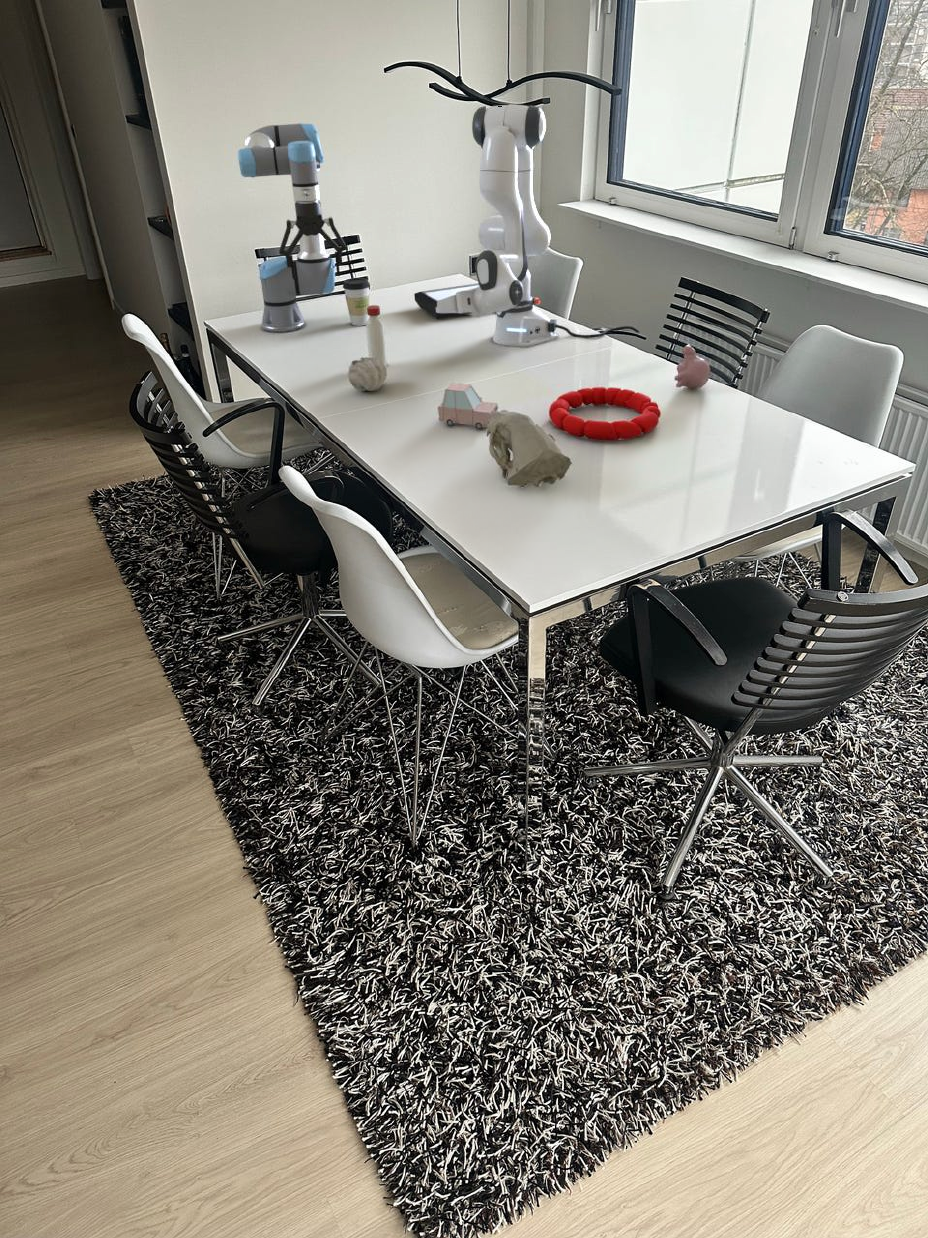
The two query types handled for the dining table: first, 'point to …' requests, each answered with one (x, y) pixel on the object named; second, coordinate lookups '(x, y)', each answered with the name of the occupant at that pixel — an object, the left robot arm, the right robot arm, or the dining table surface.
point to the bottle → (376, 339)
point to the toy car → (465, 406)
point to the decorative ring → (604, 428)
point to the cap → (373, 310)
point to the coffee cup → (357, 299)
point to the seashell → (367, 374)
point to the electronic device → (431, 297)
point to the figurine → (692, 370)
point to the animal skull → (525, 450)
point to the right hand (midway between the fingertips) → (447, 309)
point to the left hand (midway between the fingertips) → (316, 276)
